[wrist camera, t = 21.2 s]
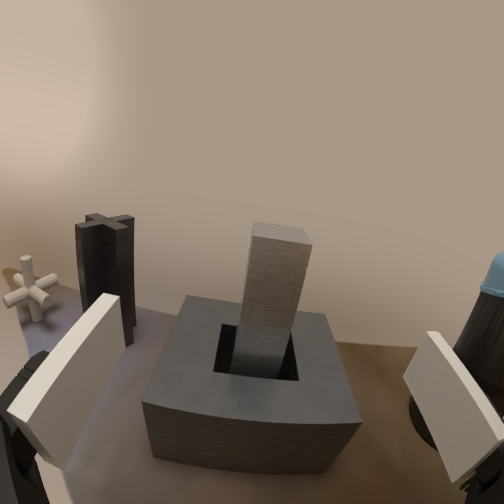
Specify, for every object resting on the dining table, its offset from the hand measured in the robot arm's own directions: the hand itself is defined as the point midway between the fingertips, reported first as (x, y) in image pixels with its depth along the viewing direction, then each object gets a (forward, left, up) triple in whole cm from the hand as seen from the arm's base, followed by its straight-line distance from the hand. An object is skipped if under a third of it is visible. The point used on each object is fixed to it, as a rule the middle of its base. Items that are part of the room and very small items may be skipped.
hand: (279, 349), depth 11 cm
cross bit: (+26, -8, -18) cm, 33 cm away
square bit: (+5, -10, -18) cm, 21 cm away
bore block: (+5, -10, -18) cm, 21 cm away
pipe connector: (+36, 0, -18) cm, 41 cm away
